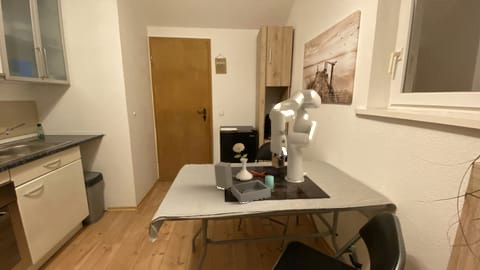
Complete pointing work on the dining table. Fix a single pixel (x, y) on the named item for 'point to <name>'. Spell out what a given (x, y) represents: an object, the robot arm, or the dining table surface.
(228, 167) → the skincare box
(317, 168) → the dining table surface
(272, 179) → the mint rounded capsule part
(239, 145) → the flower in vase
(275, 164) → the walnut cube
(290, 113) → the robot arm
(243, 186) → the tote
